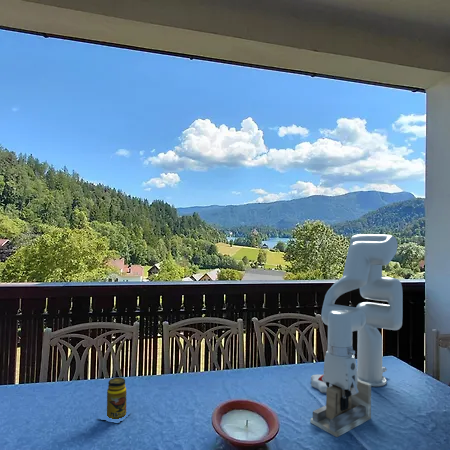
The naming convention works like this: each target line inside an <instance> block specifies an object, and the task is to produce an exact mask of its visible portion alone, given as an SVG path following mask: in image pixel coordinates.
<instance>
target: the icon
mask: <svg viewBox="0 0 450 450" xmlns="http://www.w3.org/2000/svg"><path fill="white" fill-rule="evenodd" d="M323 375H324V373H323V374H313V375H311V376H310V380H311V383H310V385H311V387H312V388H315V389H317V390H318V391H319V392H320V393H322V394H326V391H327V388H328V387H327V385H326V384H325V382H324V381H323V380H322V377H323Z"/></svg>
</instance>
